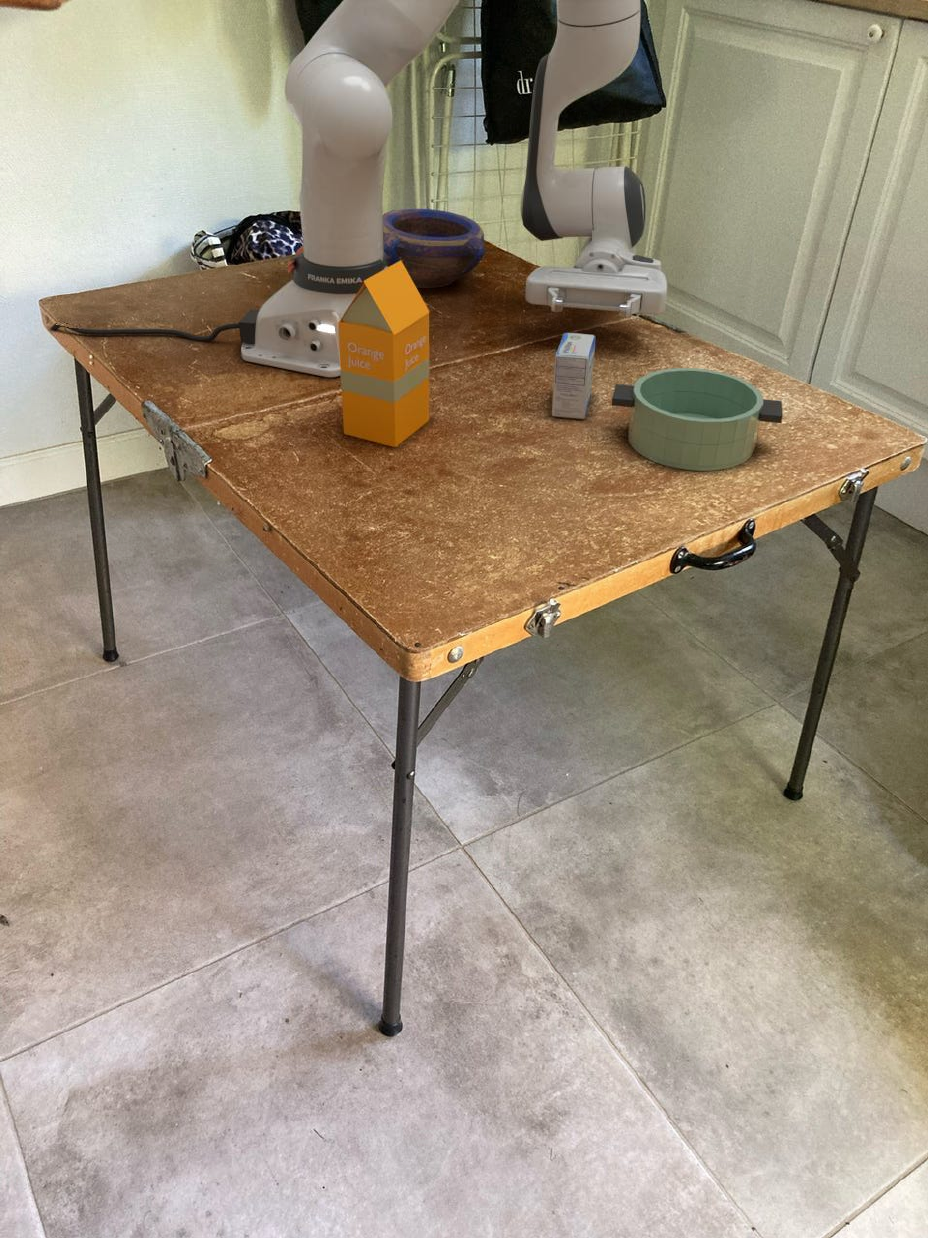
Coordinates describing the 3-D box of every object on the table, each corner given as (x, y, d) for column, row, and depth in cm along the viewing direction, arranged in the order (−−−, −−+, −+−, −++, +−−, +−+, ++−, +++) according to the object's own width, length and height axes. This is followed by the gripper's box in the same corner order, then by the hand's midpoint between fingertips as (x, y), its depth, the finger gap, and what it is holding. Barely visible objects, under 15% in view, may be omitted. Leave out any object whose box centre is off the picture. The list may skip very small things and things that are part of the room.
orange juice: (342, 433, 134) (334, 275, 122) (378, 407, 141) (374, 254, 129) (396, 447, 131) (393, 287, 120) (430, 420, 138) (430, 265, 126)
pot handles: (611, 405, 131) (612, 397, 131) (615, 391, 135) (615, 383, 134) (781, 423, 128) (782, 415, 128) (780, 408, 132) (781, 400, 131)
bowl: (485, 298, 175) (486, 236, 169) (374, 297, 174) (373, 235, 168) (481, 263, 189) (483, 205, 183) (379, 262, 189) (378, 203, 183)
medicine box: (584, 420, 139) (590, 357, 133) (550, 417, 139) (554, 353, 134) (591, 395, 145) (596, 334, 140) (558, 392, 145) (562, 331, 140)
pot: (622, 462, 129) (628, 413, 126) (633, 408, 142) (639, 362, 138) (753, 477, 127) (763, 427, 123) (753, 421, 139) (762, 374, 135)
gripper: (533, 250, 159) (517, 280, 148) (672, 261, 156) (666, 292, 145) (531, 292, 163) (515, 324, 152) (666, 303, 159) (660, 337, 148)
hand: (590, 309), depth 148 cm, fingers open, 8 cm apart
